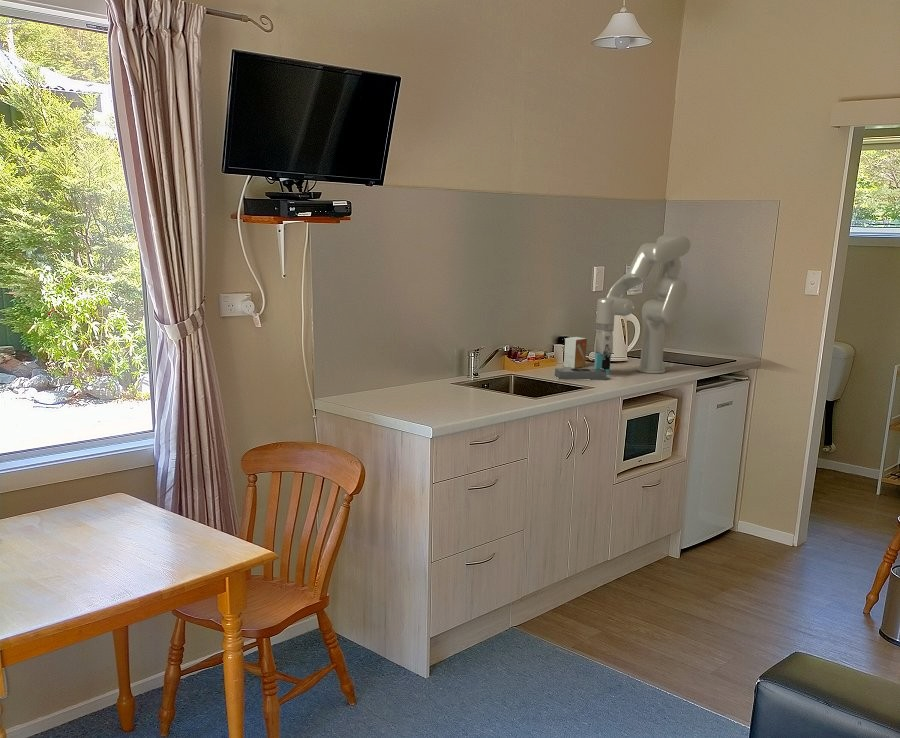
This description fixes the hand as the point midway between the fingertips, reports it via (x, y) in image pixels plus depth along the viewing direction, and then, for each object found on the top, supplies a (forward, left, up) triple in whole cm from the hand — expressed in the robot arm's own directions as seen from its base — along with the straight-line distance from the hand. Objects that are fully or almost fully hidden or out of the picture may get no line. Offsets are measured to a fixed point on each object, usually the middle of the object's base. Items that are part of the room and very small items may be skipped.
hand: (602, 366), depth 346 cm
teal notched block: (0, 0, -3) cm, 3 cm away
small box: (+7, -18, -3) cm, 20 cm away
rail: (+12, +8, -3) cm, 15 cm away
